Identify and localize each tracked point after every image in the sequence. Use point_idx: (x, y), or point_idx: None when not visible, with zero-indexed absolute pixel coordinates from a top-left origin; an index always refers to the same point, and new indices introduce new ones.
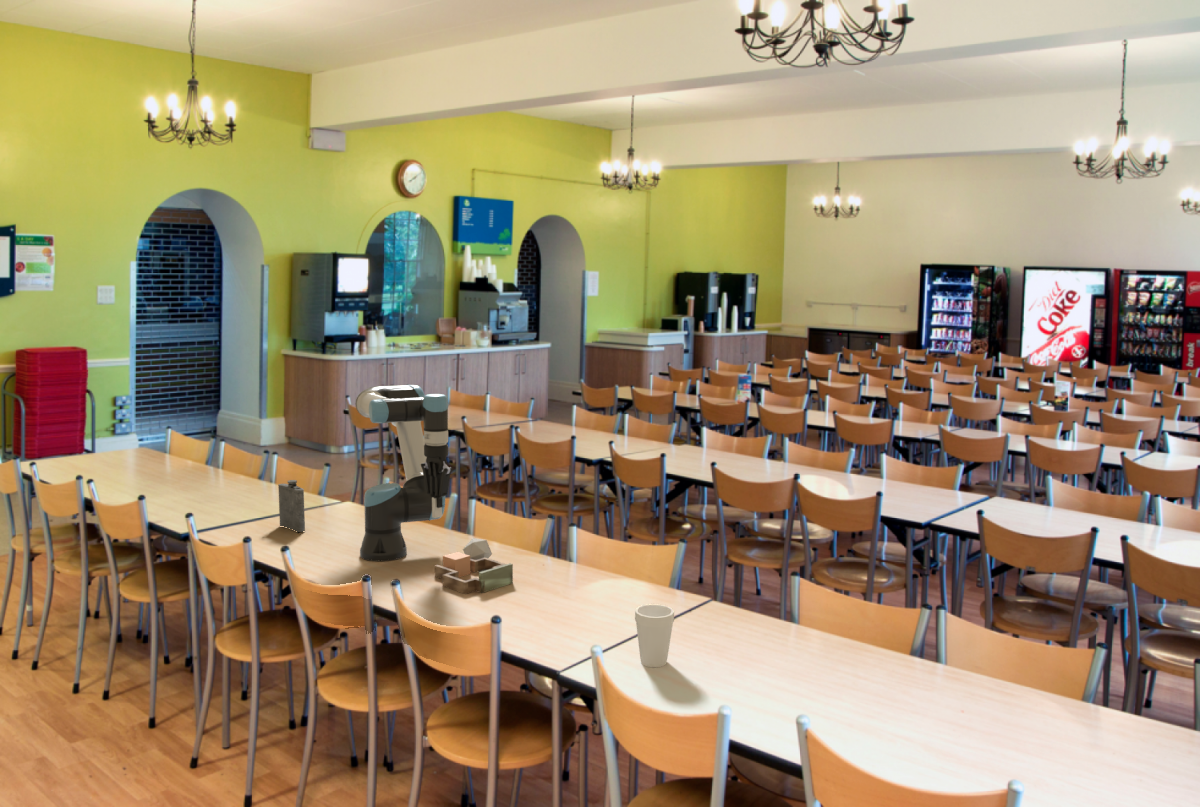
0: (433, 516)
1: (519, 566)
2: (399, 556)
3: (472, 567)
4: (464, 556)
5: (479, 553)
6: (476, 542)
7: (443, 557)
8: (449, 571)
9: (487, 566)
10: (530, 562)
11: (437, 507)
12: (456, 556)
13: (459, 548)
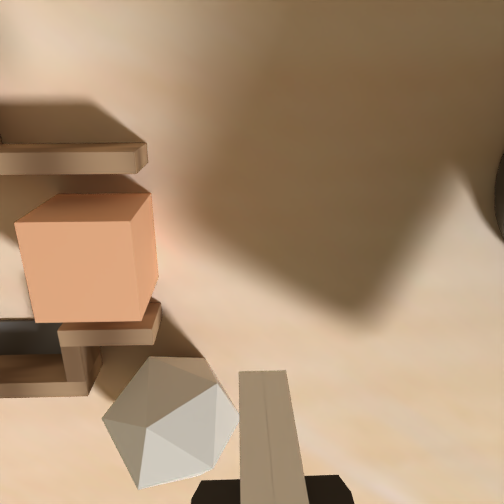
0: (266, 379)
1: (36, 454)
2: (500, 192)
3: None
4: (43, 296)
5: (119, 400)
6: (141, 441)
7: (126, 219)
8: (3, 152)
9: (60, 363)
10: (53, 501)
11: (225, 481)
12: (70, 267)
13: (386, 439)
